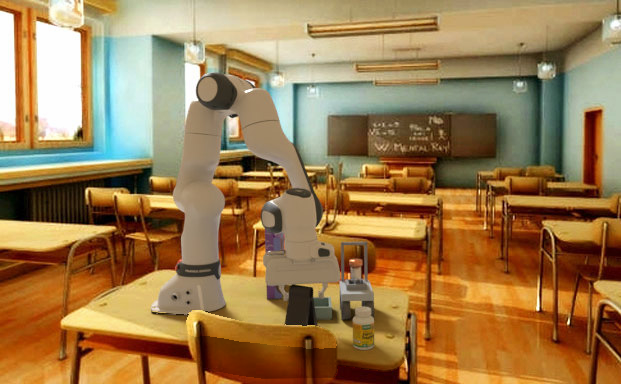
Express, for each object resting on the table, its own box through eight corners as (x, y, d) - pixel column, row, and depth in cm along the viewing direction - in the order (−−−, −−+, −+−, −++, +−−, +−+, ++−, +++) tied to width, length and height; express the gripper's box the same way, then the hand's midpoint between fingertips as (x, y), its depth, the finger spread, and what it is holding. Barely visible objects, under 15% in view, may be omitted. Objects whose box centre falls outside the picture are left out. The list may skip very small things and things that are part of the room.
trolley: (342, 322, 151) (341, 252, 148) (339, 306, 165) (338, 241, 162) (374, 322, 151) (373, 251, 148) (369, 305, 165) (368, 241, 162)
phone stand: (303, 336, 141) (304, 292, 139) (283, 332, 143) (283, 289, 142) (317, 325, 149) (318, 283, 148) (297, 321, 152) (298, 280, 150)
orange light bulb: (349, 289, 155) (349, 261, 154) (349, 285, 159) (348, 258, 158) (363, 288, 155) (362, 261, 154) (361, 285, 159) (361, 258, 158)
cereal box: (281, 299, 172) (279, 225, 170) (266, 299, 173) (264, 225, 170) (285, 283, 190) (283, 216, 187) (271, 283, 190) (269, 216, 187)
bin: (298, 319, 153) (298, 307, 153) (299, 308, 163) (299, 297, 163) (332, 319, 153) (331, 307, 153) (331, 308, 163) (330, 296, 163)
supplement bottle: (364, 340, 138) (364, 303, 137) (378, 346, 134) (378, 309, 132) (348, 345, 135) (348, 308, 134) (362, 352, 131) (362, 314, 129)
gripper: (261, 254, 141) (264, 305, 143) (339, 250, 141) (341, 300, 143) (263, 248, 147) (266, 297, 149) (338, 244, 148) (340, 293, 150)
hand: (303, 299), depth 146 cm, fingers open, 8 cm apart
